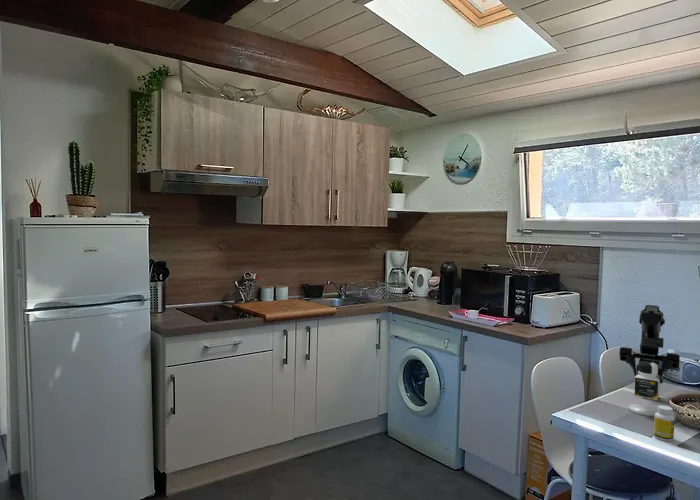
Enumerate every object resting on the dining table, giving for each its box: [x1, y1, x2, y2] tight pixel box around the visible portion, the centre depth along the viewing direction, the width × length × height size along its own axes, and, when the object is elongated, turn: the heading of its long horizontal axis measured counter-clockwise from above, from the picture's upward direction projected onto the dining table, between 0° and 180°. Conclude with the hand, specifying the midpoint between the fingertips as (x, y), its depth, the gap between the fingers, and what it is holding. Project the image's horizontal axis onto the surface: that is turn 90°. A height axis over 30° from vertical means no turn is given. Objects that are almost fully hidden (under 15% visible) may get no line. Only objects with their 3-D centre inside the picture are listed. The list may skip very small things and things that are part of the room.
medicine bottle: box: [633, 361, 661, 401], centre depth 180 cm, size 7×7×12 cm
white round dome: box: [628, 403, 658, 417], centre depth 183 cm, size 9×9×1 cm
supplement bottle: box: [653, 405, 676, 442], centre depth 159 cm, size 5×5×10 cm
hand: (647, 377), depth 179 cm, fingers closed on medicine bottle, 7 cm apart
